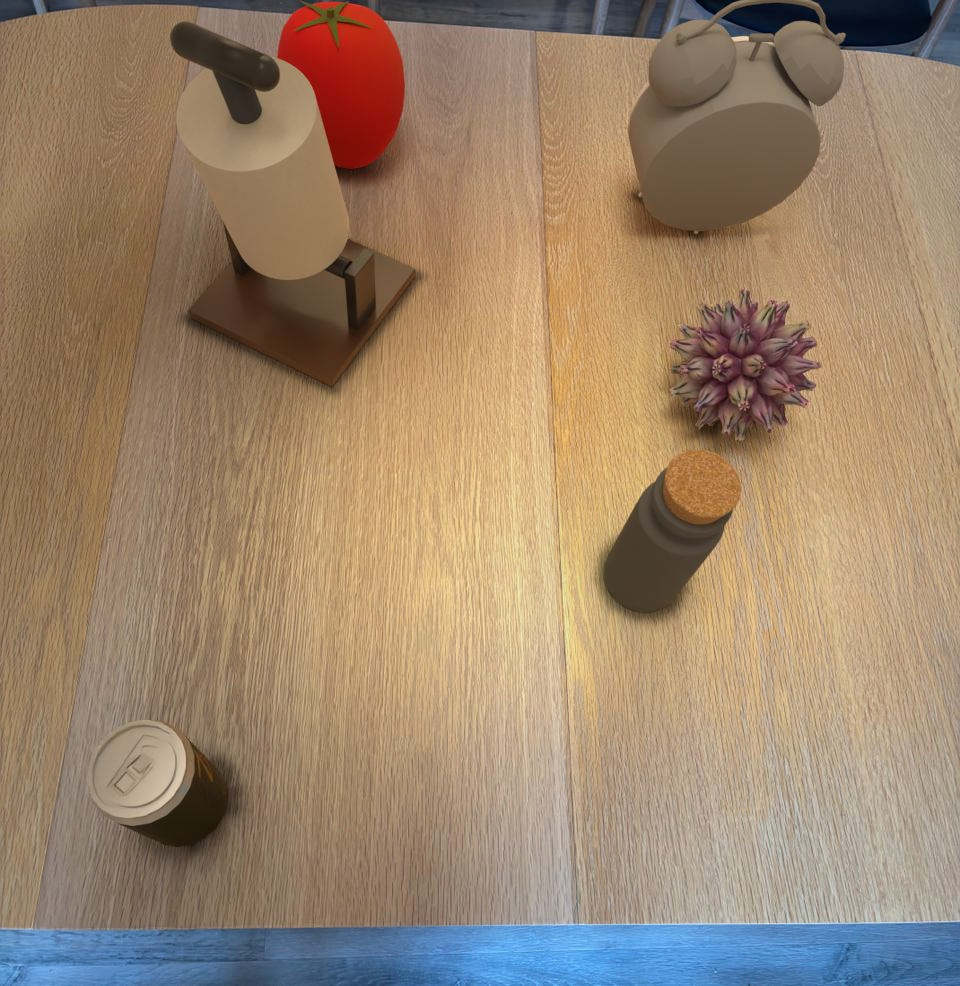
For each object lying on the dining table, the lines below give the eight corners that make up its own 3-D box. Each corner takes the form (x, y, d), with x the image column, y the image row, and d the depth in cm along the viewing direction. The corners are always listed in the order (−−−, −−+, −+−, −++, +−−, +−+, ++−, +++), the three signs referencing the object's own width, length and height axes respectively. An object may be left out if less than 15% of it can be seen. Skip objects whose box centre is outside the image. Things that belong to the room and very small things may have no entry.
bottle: (669, 624, 63) (742, 538, 50) (594, 597, 64) (646, 506, 51) (685, 556, 66) (758, 458, 53) (613, 531, 67) (667, 428, 53)
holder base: (282, 215, 79) (272, 148, 72) (415, 276, 77) (417, 213, 70) (189, 318, 73) (169, 254, 66) (332, 387, 71) (325, 329, 64)
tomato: (262, 124, 84) (240, -19, 72) (364, 90, 88) (359, -51, 76) (323, 207, 80) (311, 70, 68) (428, 168, 84) (434, 31, 71)
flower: (787, 461, 73) (670, 474, 68) (733, 346, 78) (621, 351, 73) (880, 384, 63) (752, 393, 59) (813, 258, 68) (689, 258, 64)
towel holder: (224, 273, 70) (282, 188, 72) (321, 319, 69) (377, 232, 71) (109, 71, 49) (195, -40, 51) (246, 131, 48) (327, 15, 50)
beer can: (187, 867, 53) (135, 846, 42) (124, 812, 54) (58, 779, 44) (247, 793, 55) (213, 756, 45) (186, 742, 56) (138, 695, 46)
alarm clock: (758, 182, 87) (862, -38, 68) (782, 246, 83) (900, 31, 64) (600, 184, 85) (661, -42, 65) (617, 250, 81) (687, 29, 61)
